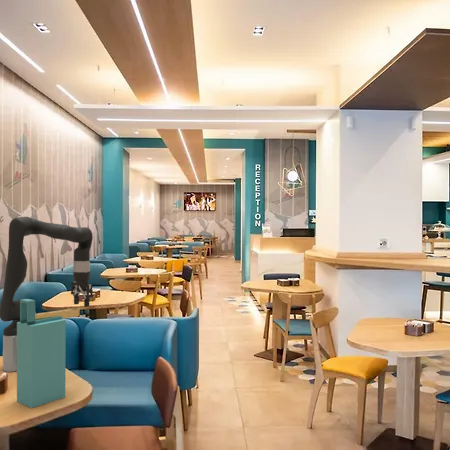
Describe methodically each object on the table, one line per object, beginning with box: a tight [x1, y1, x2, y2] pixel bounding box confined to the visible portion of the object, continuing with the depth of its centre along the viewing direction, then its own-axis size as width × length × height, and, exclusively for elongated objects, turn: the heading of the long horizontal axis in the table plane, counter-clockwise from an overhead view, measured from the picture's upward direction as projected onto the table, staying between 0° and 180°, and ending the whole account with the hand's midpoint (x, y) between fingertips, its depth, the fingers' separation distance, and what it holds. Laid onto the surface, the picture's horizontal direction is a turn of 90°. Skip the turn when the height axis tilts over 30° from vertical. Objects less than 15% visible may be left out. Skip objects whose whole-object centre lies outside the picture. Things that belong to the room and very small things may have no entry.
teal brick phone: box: [16, 298, 67, 409], centre depth 193 cm, size 11×15×41 cm
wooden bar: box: [35, 307, 81, 321], centre depth 198 cm, size 3×20×3 cm, turn 135°
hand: (81, 305), depth 219 cm, fingers open, 8 cm apart
